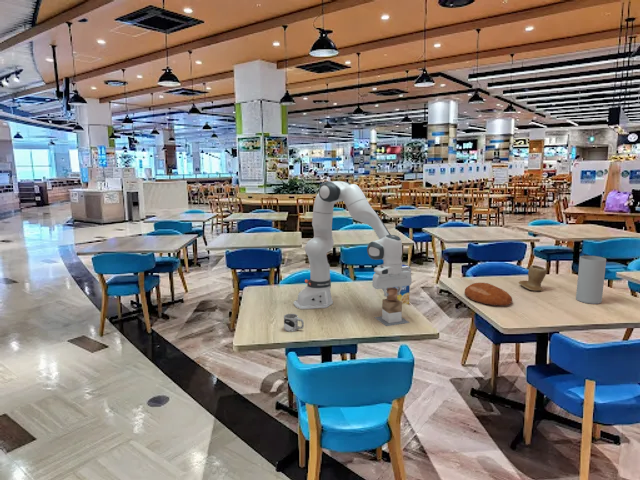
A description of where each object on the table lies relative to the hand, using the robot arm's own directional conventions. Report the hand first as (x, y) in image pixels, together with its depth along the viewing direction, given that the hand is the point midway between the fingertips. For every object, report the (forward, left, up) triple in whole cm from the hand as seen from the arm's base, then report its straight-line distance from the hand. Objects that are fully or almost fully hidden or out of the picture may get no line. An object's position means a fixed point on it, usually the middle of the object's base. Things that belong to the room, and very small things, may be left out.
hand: (392, 295), depth 207 cm
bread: (+71, +14, -15) cm, 73 cm away
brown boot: (+111, +20, -14) cm, 114 cm away
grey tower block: (0, 0, -13) cm, 13 cm away
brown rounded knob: (0, 0, -2) cm, 2 cm away
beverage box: (+17, +24, -14) cm, 33 cm away
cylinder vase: (+121, -10, -14) cm, 122 cm away
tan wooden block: (0, 0, -8) cm, 8 cm away
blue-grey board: (0, 0, -14) cm, 14 cm away
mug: (-48, +9, -14) cm, 51 cm away
